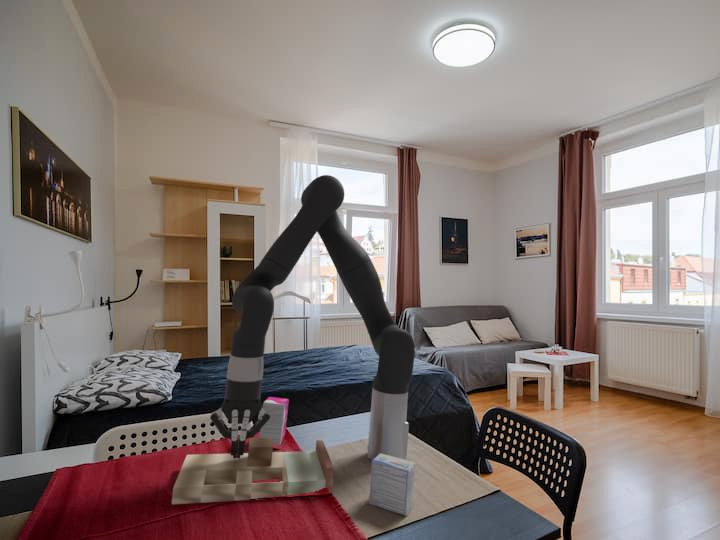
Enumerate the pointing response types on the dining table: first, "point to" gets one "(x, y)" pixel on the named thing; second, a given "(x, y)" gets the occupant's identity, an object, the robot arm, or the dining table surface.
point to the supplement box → (275, 419)
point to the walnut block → (260, 452)
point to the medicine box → (392, 484)
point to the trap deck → (252, 476)
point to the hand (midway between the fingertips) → (236, 456)
